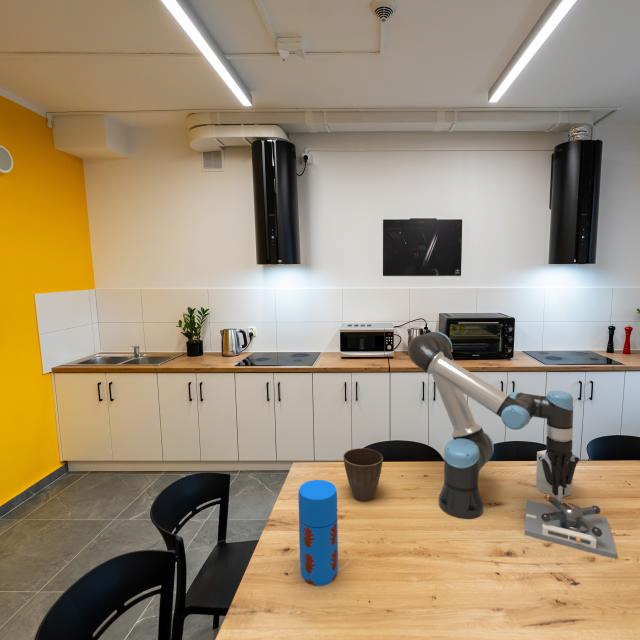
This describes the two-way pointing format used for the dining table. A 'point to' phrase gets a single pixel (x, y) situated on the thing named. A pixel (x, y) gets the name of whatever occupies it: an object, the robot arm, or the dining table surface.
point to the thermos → (318, 532)
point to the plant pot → (363, 472)
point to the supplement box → (541, 479)
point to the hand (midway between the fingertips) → (558, 503)
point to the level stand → (568, 531)
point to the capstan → (572, 516)
